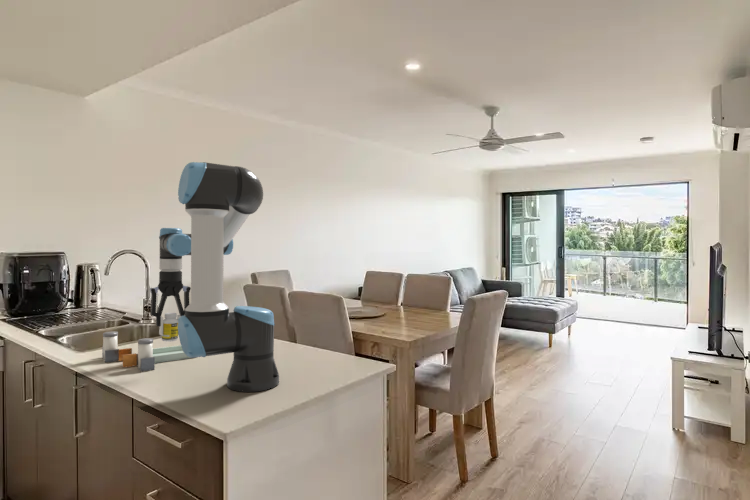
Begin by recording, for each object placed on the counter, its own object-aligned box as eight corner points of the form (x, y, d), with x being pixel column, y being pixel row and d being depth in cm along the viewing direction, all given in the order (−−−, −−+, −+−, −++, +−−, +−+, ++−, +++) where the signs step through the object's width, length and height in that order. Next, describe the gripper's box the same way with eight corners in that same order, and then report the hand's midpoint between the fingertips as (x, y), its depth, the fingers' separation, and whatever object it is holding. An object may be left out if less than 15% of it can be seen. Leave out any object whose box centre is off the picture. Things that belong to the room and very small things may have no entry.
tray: (197, 357, 166) (197, 350, 166) (149, 363, 156) (149, 356, 156) (188, 350, 175) (188, 344, 175) (142, 356, 166) (142, 349, 166)
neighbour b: (118, 359, 161) (118, 333, 160) (103, 361, 158) (103, 334, 158) (116, 356, 164) (116, 330, 164) (102, 358, 162) (102, 332, 161)
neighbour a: (154, 368, 151) (154, 340, 151) (139, 370, 148) (139, 341, 148) (151, 365, 155) (151, 337, 155) (136, 367, 152) (136, 339, 152)
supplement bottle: (171, 342, 162) (172, 315, 162) (158, 341, 163) (158, 314, 163) (181, 339, 168) (181, 312, 167) (168, 338, 169) (168, 311, 168)
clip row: (154, 369, 150) (154, 357, 150) (112, 375, 142) (112, 362, 142) (139, 352, 170) (139, 342, 170) (102, 357, 163) (102, 346, 163)
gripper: (194, 269, 173) (193, 329, 174) (140, 270, 162) (140, 334, 163) (199, 270, 167) (199, 333, 168) (144, 271, 156) (144, 339, 157)
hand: (170, 333), depth 165 cm, fingers closed on supplement bottle, 5 cm apart
